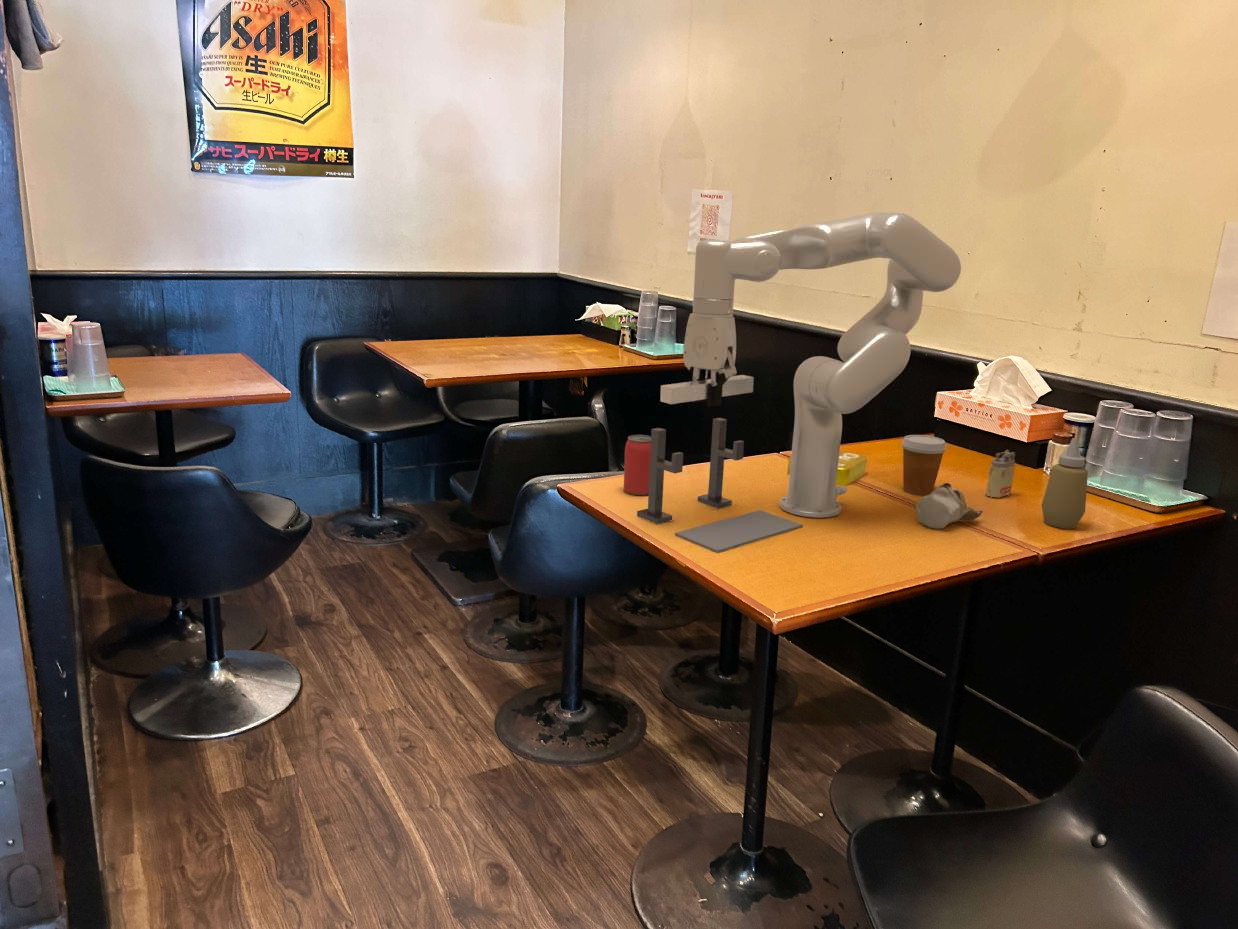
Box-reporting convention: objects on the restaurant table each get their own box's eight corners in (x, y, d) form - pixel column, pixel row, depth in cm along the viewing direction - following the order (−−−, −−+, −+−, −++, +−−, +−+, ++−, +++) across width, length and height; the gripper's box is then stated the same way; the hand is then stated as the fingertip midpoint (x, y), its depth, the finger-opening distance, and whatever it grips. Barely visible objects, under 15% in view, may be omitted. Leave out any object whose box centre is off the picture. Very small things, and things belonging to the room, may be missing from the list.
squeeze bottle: (1064, 533, 175) (1080, 445, 170) (1029, 521, 182) (1044, 435, 177) (1091, 528, 178) (1107, 441, 173) (1055, 516, 185) (1070, 432, 180)
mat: (759, 512, 181) (760, 509, 181) (802, 527, 173) (802, 524, 173) (674, 535, 166) (674, 532, 166) (717, 553, 158) (717, 550, 158)
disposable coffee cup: (893, 493, 197) (900, 441, 194) (897, 482, 205) (904, 432, 202) (939, 500, 193) (946, 446, 190) (941, 488, 202) (948, 437, 199)
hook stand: (710, 497, 189) (716, 415, 184) (742, 508, 183) (748, 423, 178) (636, 515, 176) (640, 427, 171) (667, 528, 169) (672, 437, 165)
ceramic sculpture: (906, 481, 175) (941, 472, 186) (899, 522, 177) (934, 512, 188) (957, 494, 168) (990, 484, 178) (949, 537, 170) (983, 525, 180)
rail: (741, 389, 179) (742, 374, 178) (752, 392, 176) (753, 377, 176) (660, 401, 165) (660, 385, 164) (671, 404, 163) (671, 388, 162)
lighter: (997, 499, 195) (1004, 456, 192) (981, 495, 198) (987, 452, 195) (1013, 494, 200) (1020, 451, 197) (997, 490, 202) (1004, 447, 200)
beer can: (651, 497, 188) (653, 442, 185) (620, 494, 189) (622, 440, 186) (656, 488, 194) (658, 435, 191) (626, 486, 195) (628, 433, 192)
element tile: (808, 462, 221) (810, 444, 220) (867, 473, 213) (869, 454, 212) (784, 475, 209) (785, 456, 208) (845, 487, 201) (847, 467, 200)
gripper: (668, 304, 170) (665, 398, 175) (730, 313, 158) (724, 414, 163) (697, 303, 175) (692, 394, 180) (759, 311, 162) (752, 409, 167)
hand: (707, 403), depth 171 cm, fingers closed on rail, 3 cm apart
